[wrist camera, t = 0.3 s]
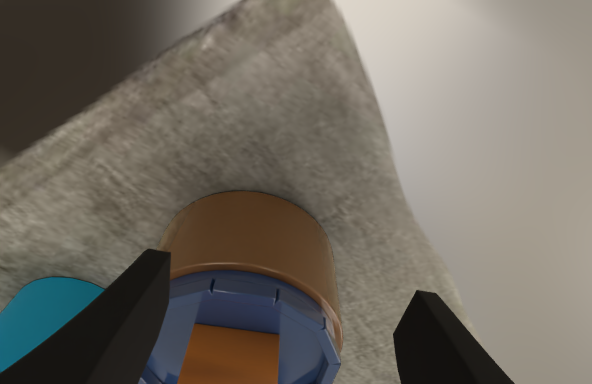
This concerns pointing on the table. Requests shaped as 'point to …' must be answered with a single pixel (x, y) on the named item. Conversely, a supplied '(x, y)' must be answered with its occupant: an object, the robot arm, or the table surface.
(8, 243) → the table surface
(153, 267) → the robot arm
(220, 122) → the table surface
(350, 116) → the table surface
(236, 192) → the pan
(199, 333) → the block
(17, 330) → the mug
